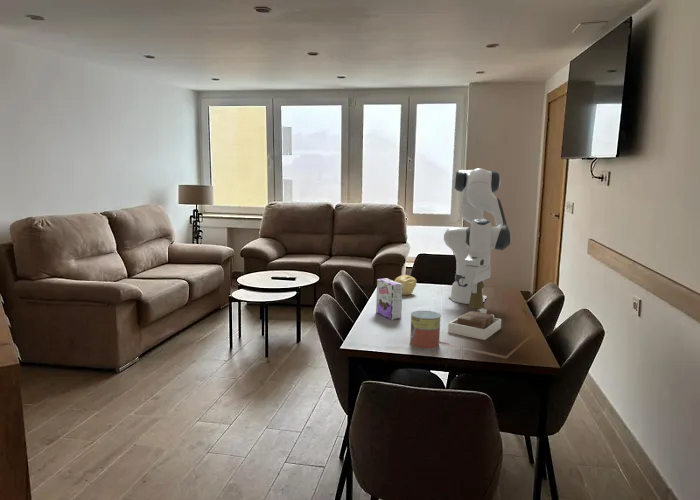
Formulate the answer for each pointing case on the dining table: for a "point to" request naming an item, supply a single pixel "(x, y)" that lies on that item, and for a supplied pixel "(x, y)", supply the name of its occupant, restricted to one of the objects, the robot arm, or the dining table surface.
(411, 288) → the beige rounded lump
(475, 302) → the olive waisted cylinder
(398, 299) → the candy box
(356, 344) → the dining table surface
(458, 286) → the robot arm
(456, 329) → the tote
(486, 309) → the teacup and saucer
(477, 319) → the walnut block
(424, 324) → the canned food
